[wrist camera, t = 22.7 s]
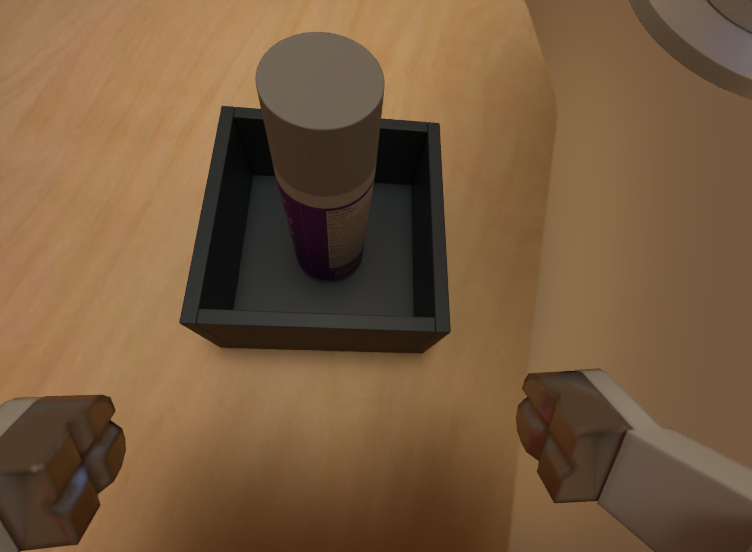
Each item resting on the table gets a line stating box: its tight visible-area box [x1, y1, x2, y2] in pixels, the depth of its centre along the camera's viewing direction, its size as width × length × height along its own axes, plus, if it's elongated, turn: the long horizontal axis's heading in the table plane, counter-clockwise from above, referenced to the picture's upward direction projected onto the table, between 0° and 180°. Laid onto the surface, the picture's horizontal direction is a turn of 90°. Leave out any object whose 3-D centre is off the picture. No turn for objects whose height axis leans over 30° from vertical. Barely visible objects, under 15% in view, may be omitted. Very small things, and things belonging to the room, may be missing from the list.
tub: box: [180, 106, 450, 353], centre depth 25 cm, size 14×14×7 cm
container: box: [256, 32, 384, 283], centre depth 20 cm, size 5×5×15 cm
